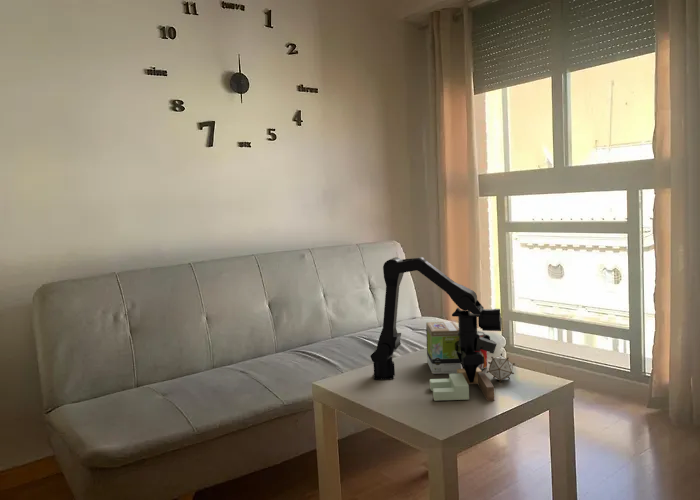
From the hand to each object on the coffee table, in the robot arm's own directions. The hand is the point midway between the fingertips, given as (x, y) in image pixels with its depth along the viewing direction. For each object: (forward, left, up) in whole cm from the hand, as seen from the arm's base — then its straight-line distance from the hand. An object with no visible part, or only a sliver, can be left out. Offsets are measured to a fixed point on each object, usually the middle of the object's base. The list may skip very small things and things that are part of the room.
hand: (469, 378), depth 183 cm
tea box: (-6, +17, -1) cm, 18 cm away
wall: (+3, -10, -1) cm, 11 cm away
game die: (+10, +1, -1) cm, 10 cm away
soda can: (+5, +15, -1) cm, 15 cm away
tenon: (0, 0, -1) cm, 1 cm away
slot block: (-8, -11, -1) cm, 13 cm away
